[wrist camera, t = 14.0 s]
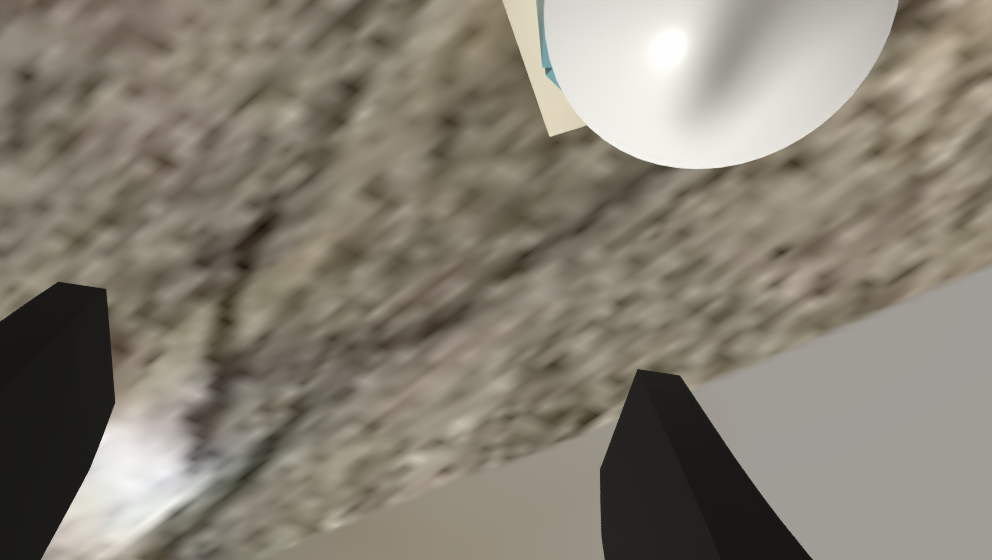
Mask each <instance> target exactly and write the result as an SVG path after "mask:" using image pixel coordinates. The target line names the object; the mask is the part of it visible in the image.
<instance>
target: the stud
mask: <svg viewBox="0 0 992 560" xmlns="http://www.w3.org/2000/svg"><path fill="white" fill-rule="evenodd" d="M503 3H504V6H505V9H506V11H507V14H508V17H509V20H510V23H511V26H512V29H513V32H514V35H515V38H516V41H517V43H518V46H519V49H520V52H521V55H522V58H523V61H524V64H525V67H526V70H527V72H528V75H529V78H530V81H531V84H532V87H533V90H534V93H535V96H536V99H537V101H538V104H539V107H540V110H541V113H542V116H543V119H544V122H545V125H546V128H547V130H548V133H549V136H550V137H551V136H554V135H557V134H560V133H563V132H567V131H570V130H573V129H576V128H580V127H583V126H586V125H587V124H586V123H585V122H584V121H583V120H582V119H581V118H580V117H579V116H578V115H577V113H576V112H575V111H574V109H573V108H572V106H571V105H570V103H569V102H568V101H567V99H566V98H565V96H564V94H563V92H562V90H561V89H560V88H559V87H557V86H556V85H555V84H554V83H553V82H552V81H551V80H550V79H549V78H548V77H547V76H546V74H545V68H542V58H541V48H540V37H539V27H538V16H537V6H536V0H503Z"/></svg>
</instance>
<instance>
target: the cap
mask: <svg viewBox="0 0 992 560" xmlns="http://www.w3.org/2000/svg"><path fill="white" fill-rule="evenodd" d="M897 5H898V0H536V6H537V16H538V27H539V37H540V48H541V58H542V68H545V74H546V76H547V77H548V78H549V79H550V80H551V81H552V82H553V83H554V84H555V85H556V86H557V87H559V88H560V89H561V90H562V92H563V94H564V96H565V98H566V99H567V101H568V102H569V103H570V105H571V106H572V108H573V109H574V111H575V112H576V113H577V115H578V116H579V117H580V118H581V119H582V120H583V121H584V122H585V123H586V124H587V125H588V127H589V128H590V129H592V130H593V131H594V132H595V133H596V134H598V135H599V136H600V137H601V138H603V139H604V140H605V141H606V142H608V143H610V144H611V145H613V146H615V147H616V148H618V149H620V150H621V151H623V152H625V153H628V154H630V155H632V156H634V157H637V158H639V159H642V160H645V161H648V162H652V163H655V164H658V165H664V166H670V167H676V168H688V169H707V168H721V167H726V166H732V165H737V164H742V163H745V162H749V161H752V160H755V159H759V158H762V157H764V156H767V155H769V154H772V153H774V152H776V151H779V150H781V149H783V148H785V147H787V146H789V145H790V144H792V143H794V142H796V141H798V140H799V139H801V138H803V137H804V136H806V135H807V134H809V133H810V132H812V131H813V130H814V129H816V128H817V127H819V126H820V125H821V124H823V123H824V122H825V121H826V120H827V119H828V118H829V117H831V116H832V115H833V114H834V113H835V112H836V111H838V110H839V109H840V108H841V106H842V105H843V104H844V103H845V102H846V101H847V100H848V99H849V98H850V97H851V96H852V95H853V94H854V92H855V91H856V90H857V88H858V87H859V86H860V84H861V83H862V82H863V80H864V79H865V78H866V76H867V75H868V74H869V72H870V70H871V69H872V67H873V65H874V63H875V62H876V60H877V58H878V57H879V55H880V53H881V51H882V49H883V46H884V44H885V42H886V40H887V37H888V35H889V33H890V30H891V27H892V23H893V20H894V17H895V14H896V10H897Z"/></svg>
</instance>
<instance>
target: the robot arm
mask: <svg viewBox="0 0 992 560" xmlns="http://www.w3.org/2000/svg"><path fill="white" fill-rule="evenodd" d="M114 404H115V393H114V381H113V368H112V356H111V343H110V331H109V318H108V306H107V293H106V289H103V288H96V287H89V286H83V285H76V284H70V283H63V282H57V283H56V284H54V285H53V286H51V287H50V288H48V289H47V290H45V291H44V292H42V293H41V294H39V295H38V296H36V297H35V298H33V299H32V300H30V301H29V302H28V303H26V304H25V305H23V306H22V307H20V308H19V309H17V310H16V311H15V312H13V313H12V314H10V315H9V316H7V317H6V318H4V319H3V320H2V321H0V560H41V558H42V556H43V554H44V553H45V551H46V549H47V547H48V545H49V544H50V542H51V540H52V538H53V536H54V534H55V533H56V531H57V529H58V527H59V525H60V524H61V522H62V520H63V518H64V516H65V514H66V512H67V511H68V509H69V507H70V505H71V503H72V501H73V499H74V498H75V496H76V494H77V492H78V490H79V488H80V487H81V485H82V483H83V481H84V479H85V477H86V475H87V473H88V471H89V469H90V467H91V464H92V462H93V459H94V457H95V454H96V452H97V449H98V447H99V444H100V442H101V439H102V437H103V434H104V431H105V429H106V426H107V423H108V421H109V418H110V415H111V413H112V410H113V407H114ZM600 492H601V494H600V500H601V501H600V503H601V533H602V543H603V550H604V557H605V560H813V559H812V558H811V557H810V556H809V555H808V554H807V552H806V551H805V550H804V549H803V547H802V546H801V545H800V544H799V542H798V541H797V540H796V539H795V537H794V536H793V535H792V534H791V532H790V531H789V530H788V529H787V528H786V526H785V525H784V524H783V522H782V521H781V520H780V519H779V517H778V516H777V515H776V513H775V512H774V511H773V509H772V508H771V507H770V506H769V504H768V503H767V502H766V500H765V499H764V498H763V496H762V495H761V493H760V492H759V491H758V490H757V488H756V487H755V485H754V484H753V483H752V481H751V480H750V478H749V477H748V476H747V474H746V473H745V471H744V470H743V469H742V467H741V466H740V464H739V463H738V461H737V460H736V459H735V457H734V456H733V454H732V453H731V451H730V450H729V448H728V447H727V446H726V444H725V442H724V441H723V439H722V438H721V437H720V435H719V433H718V432H717V431H716V429H715V428H714V426H713V425H712V423H711V422H710V420H709V419H708V417H707V416H706V414H705V413H704V411H703V409H702V408H701V407H700V405H699V403H698V402H697V400H696V399H695V397H694V396H693V394H692V393H691V391H690V390H689V388H688V387H687V385H686V384H685V382H684V381H683V380H682V378H681V377H680V376H679V375H673V374H666V373H660V372H653V371H646V370H640V369H637V372H636V375H635V377H634V380H633V383H632V385H631V388H630V391H629V394H628V396H627V399H626V402H625V404H624V407H623V410H622V412H621V415H620V418H619V420H618V423H617V426H616V428H615V431H614V434H613V436H612V439H611V442H610V444H609V447H608V450H607V452H606V455H605V458H604V460H603V463H602V466H601V468H600Z"/></svg>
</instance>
